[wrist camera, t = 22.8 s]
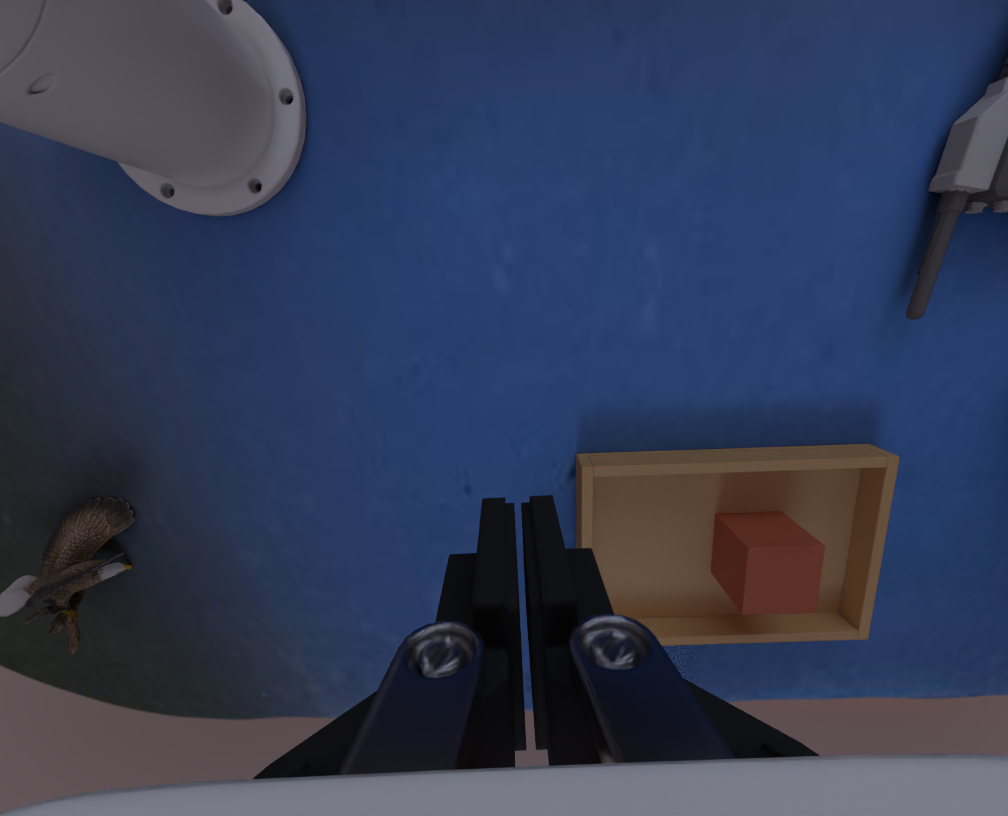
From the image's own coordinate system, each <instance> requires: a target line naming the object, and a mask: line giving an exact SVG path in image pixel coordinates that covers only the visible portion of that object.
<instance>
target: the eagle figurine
mask: <svg viewBox="0 0 1008 816" xmlns="http://www.w3.org/2000/svg"><path fill="white" fill-rule="evenodd" d="M129 507H130V505H129V503H128V502H124V501H123V499H122V498H118V499H113V498H112V497H107V498H105V499H103V500H102V501H101V499H100V498H96V499H95V500H93V501H92V500H87V501H85V502H83V503H81V504H80V505H78V506H76V507H74V509H73V510H72V511H69V513H68V514H67V516H66V517H65V518H64V519H63V520H62V521H61V522H60V524H59V526H58V527H57V528H56V529H55V531H54V532H53V533H52V536H51V537H50V538H49V540H48V542H47V545H46V547H45V551H44V553H43V558H42V560H43V563H42V567H43V569H42V571H41V575H40V576H39V577H36V576H30V575H26V576H23V577H21V578H19V579H17V580H16V581H15V582H14V583H13V584H12V585H10V587H9V588H8V589H6V590H5V591H4V592H2V594H1V595H0V616H1V617H3V616H4V617H7V616H10V615H12V614H14V613H16V612H17V611H18V610H20V609H22V608H23V607H24V606H25V607H33V606H34V605H35V603H36V602H37V601H38V600H39V599H40V598H44V597H45V598H49V600H45V601H43V602H42V604H46V605H50V606H49V607H46V608H41V609H38V610H37V611H36V612H35V613H34V614H32V615H31V616H29V617H28V618H27V619H26V620H25V624H28V623H30V622H31V621H33V620H34V619H36V618H39V617H42V616H46V615H52V614H54V613H56V612H57V615H58V616H57V617H56V618H55V619H54V620H53V621H52V623H51V625H50V627H49V628H48V630H47V631H46V634H47V635H52V634H55V633H57V632H59V631H60V630H61V629H62V628H63V627H66V629H67V631H68V634H69V638H70V652H71V653H72V654H74V653H76V651H77V649H78V645H79V643H80V638H81V637H80V630H79V628H78V626H77V610H78V605H79V604H80V603H81V600H82V599H83V598H84V594H85V593H86V591H85V589H86V588H89V587H91V586H94V585H96V584H97V583H99V582H101V581H103V580H105V579H107V578H110V577H112V576H114V575H116V574H118V573H120V572H122V571H124V570H126V569H131V568H132V566H131V565H124V564H122V563H119V562H117V563H112V564H108V563H110V562H112V561H114V560H116V559H118V558H120V557H122V556H123V555H125V552H124V553H120V554H118V555H116V556H114V557H112V558H109V559H98V560H92V557H93V555H94V553H95V552H96V551H97V550H98V549H99V548H100V547H101V546H103V545H104V543H105V542H107V541H108V540H109V539H110V538H111V537H113V536H115V535H117V534H118V533H120V532H122V531H123V530H125V529H126V528H128V527H129V526H131V525H132V524H133V523H134V522H135V519H134V518H133V517H132V516H133V511H132V510H130V509H129Z"/></svg>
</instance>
